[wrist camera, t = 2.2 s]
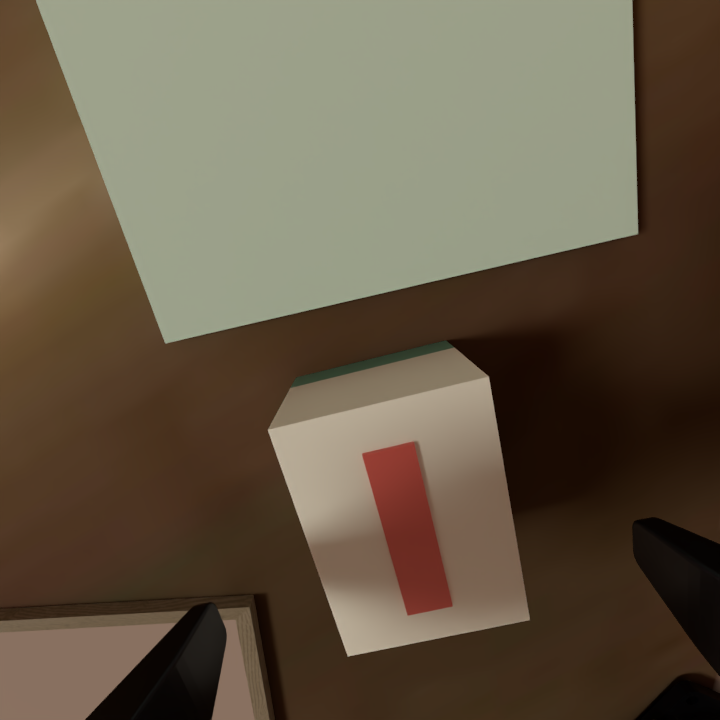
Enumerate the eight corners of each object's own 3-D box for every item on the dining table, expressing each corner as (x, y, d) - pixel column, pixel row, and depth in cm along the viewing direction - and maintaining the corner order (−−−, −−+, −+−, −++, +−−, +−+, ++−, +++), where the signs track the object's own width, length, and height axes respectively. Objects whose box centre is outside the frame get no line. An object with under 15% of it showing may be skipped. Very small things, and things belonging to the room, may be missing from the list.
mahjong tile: (479, 516, 13) (531, 623, 9) (350, 544, 14) (347, 660, 10) (444, 339, 11) (490, 377, 8) (297, 375, 12) (266, 431, 8)
